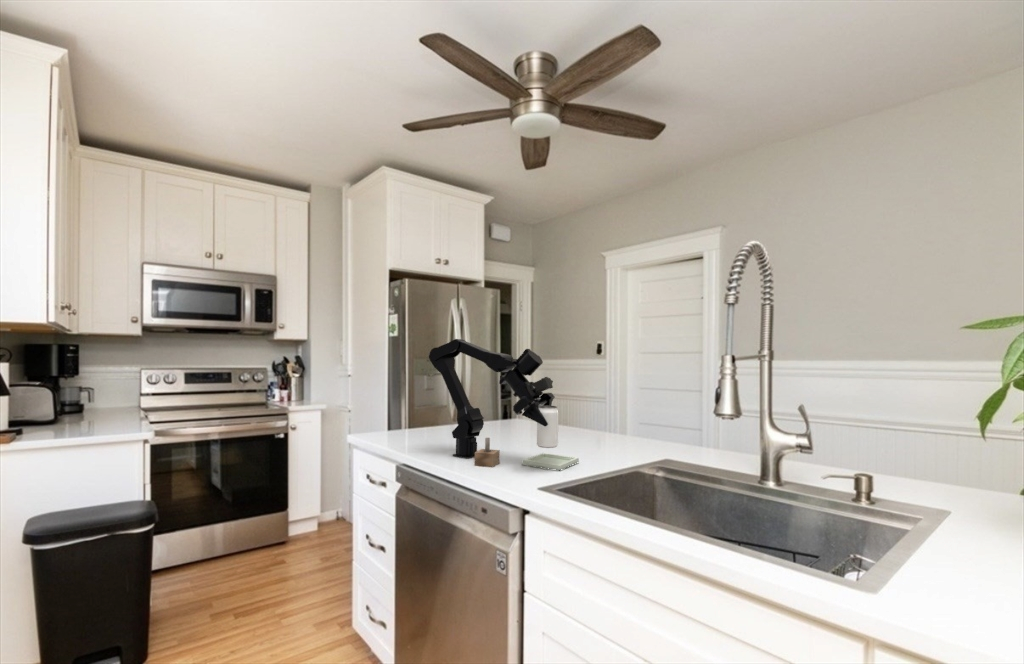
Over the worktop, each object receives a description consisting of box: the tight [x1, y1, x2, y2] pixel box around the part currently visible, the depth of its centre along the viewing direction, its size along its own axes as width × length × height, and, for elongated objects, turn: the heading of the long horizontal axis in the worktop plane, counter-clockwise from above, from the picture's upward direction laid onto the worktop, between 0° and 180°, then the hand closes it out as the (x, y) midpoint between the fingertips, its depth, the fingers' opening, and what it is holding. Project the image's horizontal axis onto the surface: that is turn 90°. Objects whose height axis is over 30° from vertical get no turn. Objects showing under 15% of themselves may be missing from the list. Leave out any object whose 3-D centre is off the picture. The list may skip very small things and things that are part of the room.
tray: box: [522, 452, 580, 471], centre depth 153 cm, size 13×13×2 cm
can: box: [536, 405, 559, 449], centre depth 149 cm, size 6×6×12 cm
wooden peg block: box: [474, 437, 501, 468], centre depth 152 cm, size 6×6×8 cm
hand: (551, 424), depth 149 cm, fingers closed on can, 6 cm apart
